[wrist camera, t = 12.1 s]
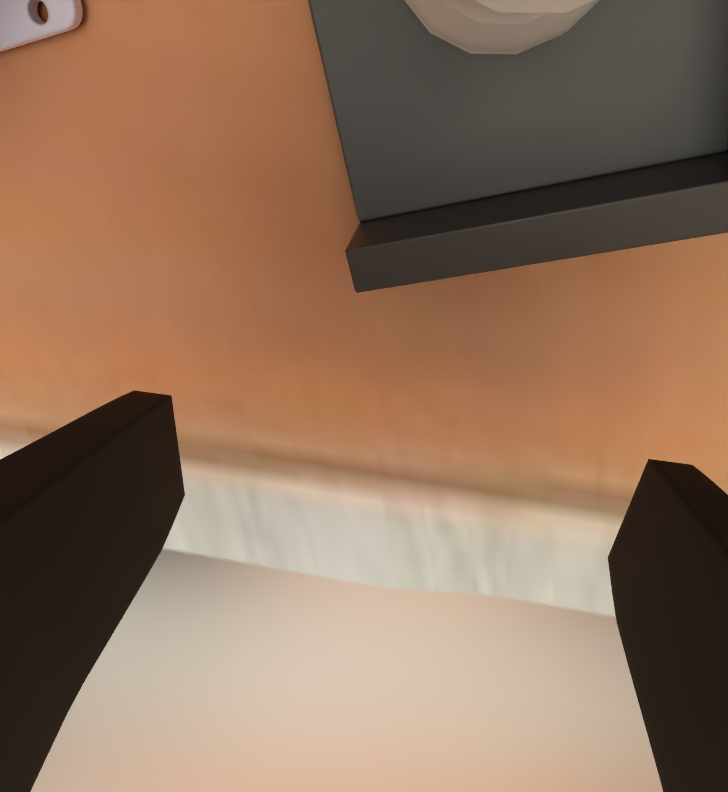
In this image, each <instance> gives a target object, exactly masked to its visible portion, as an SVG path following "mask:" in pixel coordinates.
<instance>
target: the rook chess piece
mask: <svg viewBox="0 0 728 792" xmlns="http://www.w3.org/2000/svg"><path fill="white" fill-rule="evenodd" d="M404 1H405V2H406V3H407V4H408V6H409V7H410V8H411V9H412V11H413V12H414V13H415V14H416V16H417V17H418V18H419V20H420V21H421V22H422V23H423V25H424V26H425V27H426V28H427V30H428V31H429V32H430V33H431V34H433V35H435V36H437V37H439V38H441V39H443V40H445V41H447V42H448V43H450V44H452V45H454V46H456V47H458V48H460V49H462V50H464V51H466V52H468V53H470V54H518V53H520V52H523V51H525V50H527V49H530V48H532V47H534V46H537V45H539V44H541V43H544V42H546V41H548V40H551V39H553V38H555V37H557V36H560V35H562V34H563V33H565V32H567V31H568V30H569V29H570V28H571V27H572V26H574V25H575V24H576V23H577V22H578V21H579V20H580V19H581V18H582V17H583V16H584V15H585V14H586V13H587V12H588V11H589V10H590V9H591V8H592V7H593V6H594V5H595V4H597V3H598V2H599V1H600V0H404Z"/></svg>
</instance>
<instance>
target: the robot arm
mask: <svg viewBox="0 0 728 792" xmlns="http://www.w3.org/2000/svg"><path fill="white" fill-rule="evenodd" d="M40 1H42V2H43V3H44V5H45V6H46V8H47V10H48V15H49V16H48V20H47V22H46V23H45V22H43V21H42V19H41V18H40V16H39V15H38V10H37V6H38V2H40ZM82 14H83V9H82V5H81V1H80V0H0V52H2V51H5V50H9V49H12V48H15V47H18V46H22V45H25V44H28V43H31V42H35V41H38V40H41V39H44V38H48V37H51V36H54V35H57V34H61V33H64V32H67V31H70V30H73V29H75V28H76V27H78V26H79V24H80V22H81V20H82ZM184 496H185V493H184V485H183V478H182V471H181V463H180V456H179V448H178V441H177V434H176V426H175V419H174V412H173V404H172V397H171V395H163V394H156V393H148V392H141V391H132V392H130V393H128V394H125V395H123V396H121V397H119V398H117V399H115V400H113V401H111V402H109V403H107V404H105V405H103V406H101V407H99V408H97V409H95V410H93V411H91V412H89V413H88V414H86V415H84V416H82V417H80V418H78V419H76V420H74V421H73V422H71V423H69V424H67V425H65V426H63V427H61V428H59V429H58V430H56V431H54V432H52V433H50V434H48V435H46V436H44V437H42V438H41V439H39V440H37V441H35V442H33V443H31V444H29V445H27V446H25V447H24V448H22V449H20V450H18V451H16V452H14V453H12V454H10V455H8V456H6V457H4V458H3V459H1V460H0V792H30V791H31V789H32V787H33V785H34V782H35V780H36V778H37V776H38V774H39V772H40V770H41V768H42V766H43V763H44V761H45V759H46V757H47V755H48V753H49V751H50V749H51V746H52V744H53V742H54V740H55V738H56V736H57V734H58V732H59V730H60V727H61V725H62V723H63V721H64V719H65V717H66V715H67V713H68V711H69V709H70V707H71V705H72V703H73V701H74V700H75V698H76V696H77V694H78V692H79V690H80V689H81V687H82V684H83V683H84V681H85V679H86V678H87V676H88V674H89V673H90V671H91V669H92V668H93V666H94V664H95V663H96V661H97V659H98V657H99V656H100V654H101V652H102V651H103V649H104V647H105V646H106V644H107V642H108V641H109V639H110V637H111V636H112V634H113V632H114V630H115V629H116V627H117V625H118V624H119V622H120V620H121V619H122V617H123V615H124V614H125V612H126V610H127V609H128V607H129V605H130V604H131V602H132V600H133V598H134V597H135V595H136V593H137V592H138V590H139V588H140V587H141V585H142V583H143V581H144V580H145V578H146V576H147V575H148V573H149V571H150V569H151V568H152V566H153V564H154V563H155V561H156V559H157V557H158V555H159V554H160V552H161V550H162V548H163V546H164V543H165V541H166V539H167V537H168V534H169V532H170V530H171V527H172V525H173V523H174V520H175V518H176V515H177V513H178V510H179V508H180V505H181V503H182V501H183V498H184ZM608 562H609V570H610V578H611V586H612V594H613V601H614V607H615V614H616V620H617V625H618V628H619V632H620V636H621V640H622V644H623V647H624V651H625V654H626V658H627V662H628V666H629V669H630V673H631V676H632V680H633V684H634V688H635V691H636V694H637V698H638V702H639V705H640V709H641V712H642V716H643V720H644V723H645V727H646V730H647V734H648V737H649V741H650V744H651V748H652V752H653V755H654V759H655V762H656V766H657V770H658V773H659V777H660V780H661V784H662V788H663V792H728V495H727V494H726V493H725V492H724V491H723V490H722V489H721V488H719V487H718V486H717V485H716V484H715V483H714V482H713V481H711V480H710V479H709V478H708V477H707V476H705V475H704V474H703V473H702V472H701V471H699V470H698V469H697V468H695V467H694V466H693V465H689V464H681V463H674V462H666V461H659V460H651V459H648V462H647V464H646V466H645V469H644V471H643V474H642V476H641V479H640V481H639V483H638V486H637V488H636V491H635V493H634V495H633V498H632V500H631V503H630V505H629V508H628V510H627V512H626V515H625V517H624V520H623V522H622V525H621V527H620V529H619V532H618V534H617V537H616V539H615V541H614V544H613V546H612V549H611V551H610V554H609V556H608Z"/></svg>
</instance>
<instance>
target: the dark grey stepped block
mask: <svg viewBox="0 0 728 792" xmlns="http://www.w3.org/2000/svg"><path fill="white" fill-rule="evenodd" d="M308 2H309V6H310V11H311V15H312V19H313V24H314V28H315V33H316V37H317V41H318V46H319V50H320V54H321V59H322V63H323V68H324V72H325V76H326V81H327V85H328V89H329V94H330V98H331V103H332V107H333V111H334V116H335V120H336V125H337V129H338V133H339V138H340V142H341V146H342V151H343V155H344V160H345V164H346V168H347V173H348V177H349V181H350V186H351V190H352V195H353V199H354V203H355V208H356V212H357V216H358V220H359V221H360V223H359V225H358V227H357V229H356V231H355V233H354V235H353V237H352V239H351V241H350V243H349V245H348V246H347V248H346V251H345V252H346V256H347V260H348V264H349V268H350V272H351V276H352V280H353V285H354V289H355V291H356V293H359V292H365V291H371V290H377V289H384V288H390V287H396V286H402V285H408V284H414V283H420V282H426V281H433V280H439V279H445V278H451V277H457V276H463V275H469V274H475V273H482V272H488V271H494V270H500V269H506V268H512V267H518V266H524V265H531V264H537V263H543V262H549V261H555V260H561V259H567V258H573V257H580V256H586V255H592V254H598V253H604V252H610V251H616V250H622V249H629V248H635V247H641V246H647V245H653V244H659V243H665V242H671V241H678V240H684V239H690V238H696V237H702V236H708V235H714V234H720V233H727V232H728V0H600V1H599V2H598V3H597V4H595V5H594V6H593V7H592V8H591V9H590V10H589V11H588V12H587V13H586V14H585V15H584V16H583V17H582V18H581V19H580V20H579V21H578V22H577V23H576V24H575V25H574V26H572V27H571V28H570V29H569V30H568V31H567V32H565V33H563V34H562V35H560V36H557V37H555V38H553V39H551V40H548V41H546V42H544V43H541V44H539V45H537V46H534V47H532V48H530V49H527V50H525V51H523V52H520V53H518V54H470V53H468V52H466V51H464V50H462V49H460V48H458V47H456V46H454V45H452V44H450V43H448V42H447V41H445V40H443V39H441V38H439V37H437V36H435V35H433V34H431V33H430V32H429V31H428V30H427V28H426V27H425V26H424V25H423V23H422V22H421V21H420V20H419V18H418V17H417V16H416V14H415V13H414V12H413V11H412V9H411V8H410V7H409V6H408V4H407V3H406V2H405V1H404V0H308Z"/></svg>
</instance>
